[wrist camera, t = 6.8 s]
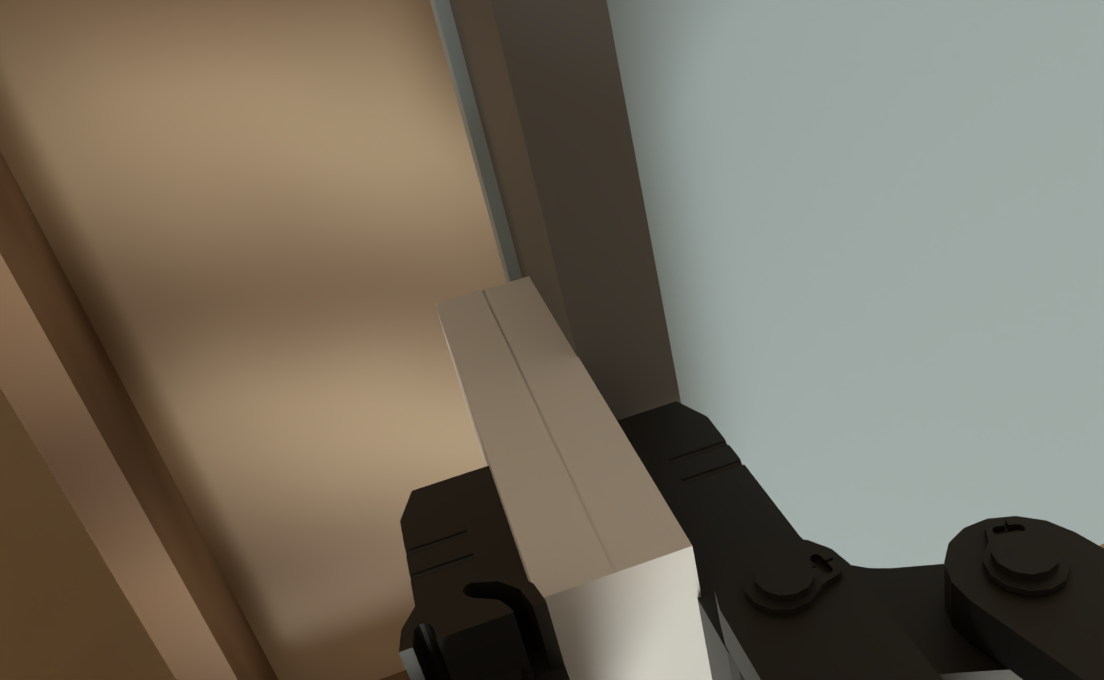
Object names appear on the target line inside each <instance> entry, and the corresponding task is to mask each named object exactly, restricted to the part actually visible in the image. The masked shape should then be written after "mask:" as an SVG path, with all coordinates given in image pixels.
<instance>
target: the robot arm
mask: <svg viewBox="0 0 1104 680" xmlns="http://www.w3.org/2000/svg"><path fill="white" fill-rule="evenodd" d="M435 306H436V309H437V312H438V316H439V319H440V322H441V326H442V329H443V332H444V335H445V339H446V342H447V345H448V348H449V352H450V355H451V358H452V362H453V365H454V368H455V371H456V375H457V378H458V381H459V384H460V388H461V391H462V394H463V398H464V401H465V404H466V407H467V411H468V414H469V417H470V420H471V424H472V427H473V430H474V434H475V437H476V440H477V443H478V447H479V450H480V453H481V456H482V459H483V462H484V465H485V467H483V468H480V469H477V470H474V471H471V472H467V473H464V474H461V475H458V476H455V477H452V478H449V479H446V480H443V481H440V482H437V483H434V484H431V485H428V486H425V487H422V488H419V489H416V490H413V491H412V492H411V494H410V497H409V499H408V502H407V504H406V507H405V510H404V512H403V515H402V517H401V520H400V524H401V530H402V535H403V541H404V547H405V551H406V555H407V556H406V558H407V564H408V569H409V575H410V578H411V586H412V592H413V598H414V603H415V607H414V609H413V610H412V612H411V614H410V616H409V617H408V619H407V621H406V622H405V624H404V626H403V628H402V629H401V637H400V646H399V654H400V657H401V659H402V661H403V664H404V666H405V669H406V671H407V674H408V676H409V678H410V680H1104V548H1102V547H1101V546H1099V545H1097V544H1095V543H1093V542H1092V541H1090V540H1088V539H1086V538H1085V537H1083V536H1081V535H1079V534H1078V533H1076V532H1074V531H1071V530H1069V529H1066V528H1064V527H1061V526H1059V525H1056V524H1054V523H1051V522H1049V521H1046V520H1040V519H1033V518H1026V517H1020V516H1010V517H999V518H988V519H985V520H982V521H980V522H977V523H975V524H972V525H970V526H967V527H965V528H963V529H962V530H961V531H960V532H959V533H958V534H957V535H956V536H955V537H954V538H953V539H952V540H951V541H950V542H949V544H948V548H947V552H946V557H945V561H944V564H935V565H923V566H912V567H900V568H866V567H860V566H854V565H850V564H849V563H848V562H847V561H846V560H845V559H843V558H842V557H841V556H840V555H839V554H837V553H836V552H835V551H834V550H832V549H831V548H828V547H826V546H823V545H820V544H817V543H815V542H812V541H809V540H803V539H802V538H801V537H800V536H799V534H798V533H797V532H796V531H795V529H794V528H793V527H792V525H791V524H790V523H789V521H788V520H787V519H786V518H785V516H784V515H783V514H782V512H781V511H780V510H779V509H778V507H777V506H776V505H775V503H774V502H773V501H772V499H771V498H770V497H769V496H768V494H767V493H766V492H765V490H764V489H763V488H762V487H761V485H760V484H759V483H758V481H757V480H756V479H755V477H754V476H753V475H752V474H751V472H750V471H749V470H748V468H747V467H746V466H745V465H742V463H741V459H740V458H739V457H738V455H737V454H736V453H735V452H734V450H733V449H732V448H731V446H730V445H727V443H726V440H725V439H724V437H723V436H722V435H721V433H720V432H719V431H718V430H717V428H716V427H715V426H714V424H713V423H712V422H711V421H710V419H709V418H708V417H707V416H705V415H703V414H701V413H699V412H697V411H695V410H693V409H691V408H689V407H687V406H685V405H683V404H681V403H679V402H677V401H675V402H672V403H669V404H666V405H663V406H660V407H657V408H654V409H651V410H648V411H645V412H642V413H639V414H636V415H633V416H630V417H627V418H624V419H621V420H616V418H615V417H614V415H613V413H612V412H611V410H610V408H609V407H608V405H607V403H606V402H605V400H604V398H603V397H602V395H601V394H600V392H599V390H598V389H597V387H596V385H595V384H594V382H593V380H592V379H591V377H590V375H589V374H588V372H587V370H586V369H585V367H584V365H583V364H582V362H581V360H580V359H579V357H577V356H576V354H575V352H574V351H573V349H572V347H571V346H570V344H569V342H568V341H567V339H566V337H565V336H564V334H563V332H562V331H561V329H560V327H559V326H558V324H557V322H556V321H555V319H554V317H553V315H552V314H551V312H550V310H549V309H548V307H547V305H546V304H545V302H544V300H543V299H542V297H541V295H540V294H539V292H538V290H537V289H536V287H535V285H534V284H533V282H532V280H531V279H530V277H529V276H528V277H524V278H521V279H518V280H514V281H511V282H508V283H505V284H501V285H498V286H495V287H491V288H488V289H485V290H482V291H478V292H475V293H472V294H468V295H465V296H462V297H459V298H455V299H452V300H449V301H445V302H442V303H439V304H436V305H435Z"/></svg>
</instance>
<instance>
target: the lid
mask: <svg viewBox="0 0 1104 680" xmlns="http://www.w3.org/2000/svg"><path fill="white" fill-rule="evenodd" d="M430 3H431V6H432V10H433V14H434V17H435V21H436V25H437V28H438V32H439V36H440V39H441V43H442V47H443V50H444V54H445V58H446V61H447V65H448V69H449V72H450V76H451V80H452V83H453V87H454V91H455V94H456V98H457V102H458V105H459V109H460V113H461V116H462V120H463V124H464V127H465V131H466V135H467V138H468V142H469V146H470V149H471V153H472V157H473V160H474V164H475V168H476V171H477V175H478V179H479V182H480V186H481V190H482V193H483V197H484V201H485V204H486V208H487V212H488V215H489V219H490V223H491V226H492V230H493V234H494V237H495V241H496V244H497V248H498V252H499V255H500V259H501V263H502V266H503V270H504V274H505V277H506V281H507V283H508V282H511V281H514V280H518V279H521V278H524V277H528V276H529V277H530V279H531V280H532V282H533V284H534V285H535V287H536V289H537V290H538V292H539V294H540V295H541V297H542V299H543V300H544V302H545V304H546V305H547V307H548V309H549V310H550V312H551V314H552V315H553V317H554V319H555V321H556V322H557V324H558V326H559V327H560V329H561V331H562V332H563V334H564V336H565V337H566V339H567V341H568V342H569V344H570V346H571V347H572V349H573V351H574V352H575V354H576V356H577V357H579V359H580V360H581V362H582V364H583V365H584V367H585V369H586V370H587V372H588V374H589V375H590V377H591V379H592V380H593V382H594V384H595V385H596V387H597V389H598V390H599V392H600V394H601V395H602V397H603V398H604V400H605V402H606V403H607V405H608V407H609V408H610V410H611V412H612V413H613V415H614V417H615V418H616V420H621V419H624V418H627V417H630V416H633V415H636V414H639V413H642V412H645V411H648V410H651V409H654V408H657V407H660V406H663V405H666V404H669V403H672V402H675V401H677V402H679V403H681V404H683V405H685V406H687V407H689V408H691V409H693V410H695V411H697V412H699V413H701V414H703V415H705V416H707V417H708V418H709V419H710V421H711V422H712V423H713V424H714V426H715V427H716V428H717V430H718V431H719V432H720V433H721V435H722V436H723V437H724V439H725V440H726V443H727V445H730V446H731V448H732V449H733V450H734V452H735V453H736V454H737V455H738V457H739V458H740V459H741V463H742V465H745V466H746V467H747V468H748V470H749V471H750V472H751V474H752V475H753V476H754V477H755V479H756V480H757V481H758V483H759V484H760V485H761V487H762V488H763V489H764V490H765V492H766V493H767V494H768V496H769V497H770V498H771V499H772V501H773V502H774V503H775V505H776V506H777V507H778V509H779V510H780V511H781V512H782V514H783V515H784V516H785V518H786V519H787V520H788V521H789V523H790V524H791V525H792V527H793V528H794V529H795V531H796V532H797V533H798V534H799V536H800V537H801V538H802V539H803V540H809V541H812V542H815V543H817V544H820V545H823V546H826V547H828V548H831V549H832V550H834V551H835V552H836V553H837V554H839V555H840V556H841V557H842V558H843V559H845V560H846V561H847V562H848V563H849V564H850V565H854V566H860V567H866V568H900V567H912V566H923V565H935V564H944V561H945V557H946V552H947V548H948V544H949V542H950V541H951V540H952V539H953V538H954V537H955V536H956V535H957V534H958V533H959V532H960V531H961V530H962V529H963V528H965V527H967V526H970V525H972V524H975V523H977V522H980V521H982V520H985V519H988V518H999V517H1010V516H1020V517H1026V518H1033V519H1040V520H1046V521H1049V522H1051V523H1054V524H1056V525H1059V526H1061V527H1064V528H1066V529H1069V530H1071V531H1074V532H1076V533H1078V534H1079V535H1081V536H1083V537H1085V538H1086V539H1088V540H1090V541H1092V542H1093V543H1095V544H1097V545H1102V544H1104V0H430Z"/></svg>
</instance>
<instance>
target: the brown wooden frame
mask: <svg viewBox="0 0 1104 680" xmlns="http://www.w3.org/2000/svg"><path fill="white" fill-rule="evenodd" d="M505 283H507V281H506V277H505V274H504V270H503V266H502V263H501V259H500V255H499V252H498V248H497V244H496V241H495V237H494V234H493V230H492V226H491V223H490V219H489V215H488V212H487V208H486V204H485V201H484V197H483V193H482V190H481V186H480V182H479V179H478V175H477V171H476V168H475V164H474V160H473V157H472V153H471V149H470V146H469V142H468V138H467V135H466V131H465V127H464V124H463V120H462V116H461V113H460V109H459V105H458V102H457V98H456V94H455V91H454V87H453V83H452V80H451V76H450V72H449V69H448V65H447V61H446V58H445V54H444V50H443V47H442V43H441V39H440V36H439V32H438V28H437V25H436V21H435V17H434V14H433V10H432V6H431V3H430V0H0V389H1V391H2V392H3V394H4V396H5V397H6V399H7V401H8V402H9V404H10V406H11V407H12V409H13V411H14V412H15V414H16V416H17V417H18V419H19V421H20V422H21V424H22V425H23V427H24V429H25V430H26V432H27V434H28V435H29V437H30V439H31V440H32V442H33V444H34V445H35V447H36V449H37V450H38V452H39V454H40V455H41V457H42V459H43V460H44V462H45V464H46V465H47V467H48V469H49V470H50V472H51V474H52V475H53V477H54V479H55V480H56V482H57V484H58V485H59V487H60V489H61V490H62V492H63V493H64V495H65V497H66V498H67V500H68V502H69V503H70V505H71V507H72V508H73V510H74V512H75V513H76V515H77V517H78V518H79V520H80V522H81V523H82V525H83V527H84V528H85V530H86V532H87V533H88V535H89V537H90V538H91V540H92V542H93V543H94V545H95V547H96V548H97V550H98V552H99V553H100V555H101V557H102V558H103V560H104V562H105V563H106V565H107V566H108V568H109V570H110V571H111V573H112V575H113V576H114V578H115V580H116V581H117V583H118V585H119V586H120V588H121V590H122V591H123V593H124V595H125V596H126V598H127V600H128V601H129V603H130V605H131V606H132V608H133V610H134V611H135V613H136V615H137V616H138V618H139V620H140V621H141V623H142V625H143V626H144V628H145V630H146V631H147V633H148V634H149V636H150V638H151V639H152V641H153V643H154V644H155V646H156V648H157V649H158V651H159V653H160V654H161V656H162V658H163V659H164V661H165V663H166V664H167V666H168V668H169V669H170V671H171V673H172V674H173V676H174V678H175V679H176V680H410V678H409V676H408V674H407V671H406V669H405V666H404V664H403V661H402V659H401V657H400V654H399V646H400V637H401V629H402V628H403V626H404V624H405V622H406V621H407V619H408V617H409V616H410V614H411V612H412V610H413V609H414V607H415V603H414V598H413V592H412V586H411V578H410V575H409V569H408V564H407V558H406V556H407V555H406V551H405V547H404V541H403V535H402V530H401V524H400V520H401V517H402V515H403V512H404V510H405V507H406V504H407V502H408V499H409V497H410V494H411V492H412V491H413V490H416V489H419V488H422V487H425V486H428V485H431V484H434V483H437V482H440V481H443V480H446V479H449V478H452V477H455V476H458V475H461V474H464V473H467V472H471V471H474V470H477V469H480V468H483V467H485V465H484V462H483V459H482V456H481V453H480V450H479V447H478V443H477V440H476V437H475V434H474V430H473V427H472V424H471V420H470V417H469V414H468V411H467V407H466V404H465V401H464V398H463V394H462V391H461V388H460V384H459V381H458V378H457V375H456V371H455V368H454V365H453V362H452V358H451V355H450V352H449V348H448V345H447V342H446V339H445V335H444V332H443V329H442V326H441V322H440V319H439V316H438V312H437V309H436V306H435V305H436V304H439V303H442V302H445V301H449V300H452V299H455V298H459V297H462V296H465V295H468V294H472V293H475V292H478V291H482V290H485V289H488V288H491V287H495V286H498V285H501V284H505Z"/></svg>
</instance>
